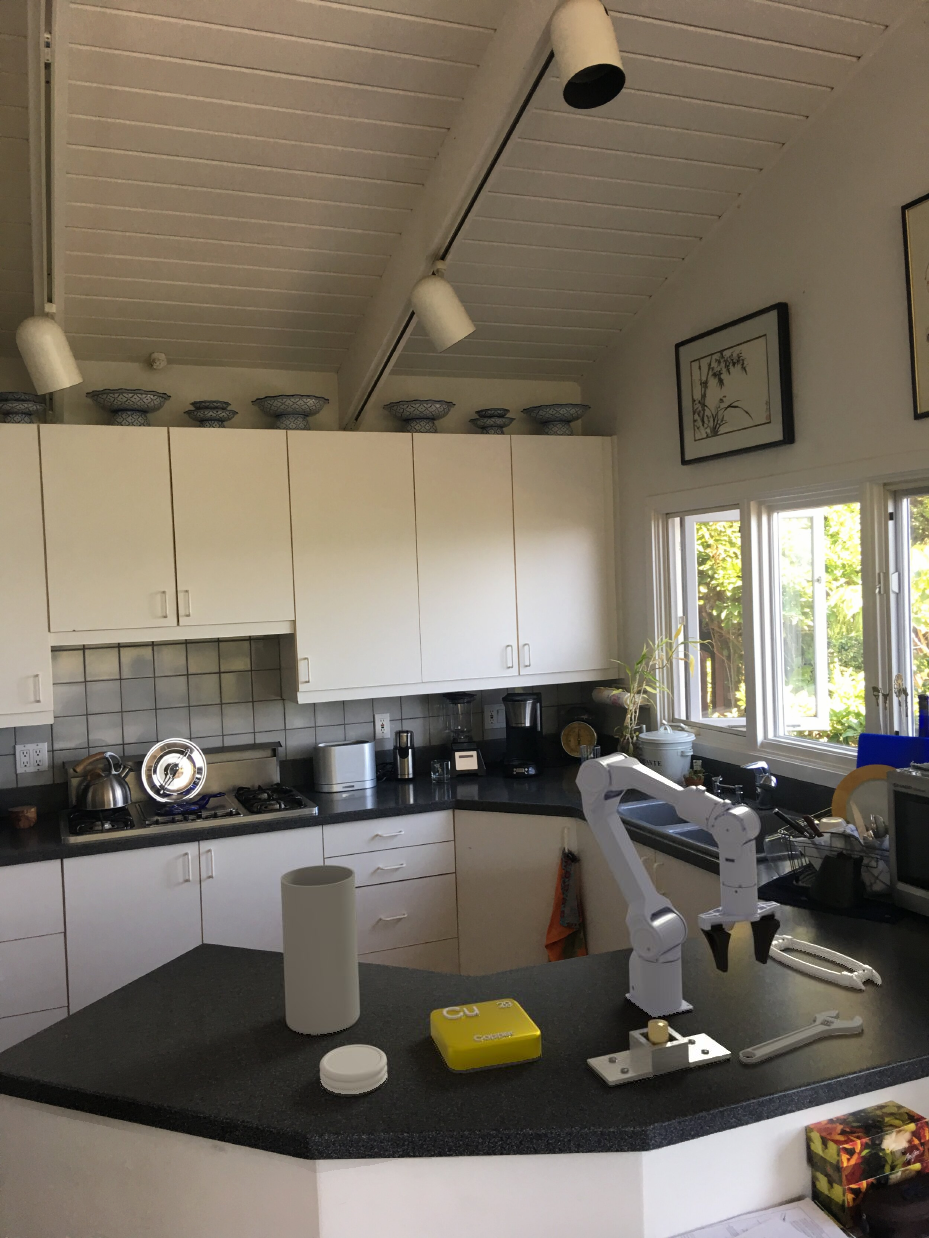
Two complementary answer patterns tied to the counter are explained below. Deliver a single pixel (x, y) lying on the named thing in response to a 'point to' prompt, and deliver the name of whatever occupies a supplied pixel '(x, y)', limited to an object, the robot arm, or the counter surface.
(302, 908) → the cylinder vase
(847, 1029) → the adjustable wrench
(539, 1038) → the element tile
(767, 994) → the counter surface
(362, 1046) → the white end cap
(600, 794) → the robot arm
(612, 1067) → the mounting bracket
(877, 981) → the white tongs
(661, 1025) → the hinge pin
